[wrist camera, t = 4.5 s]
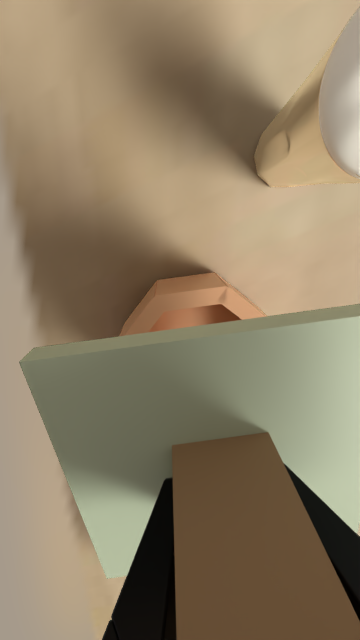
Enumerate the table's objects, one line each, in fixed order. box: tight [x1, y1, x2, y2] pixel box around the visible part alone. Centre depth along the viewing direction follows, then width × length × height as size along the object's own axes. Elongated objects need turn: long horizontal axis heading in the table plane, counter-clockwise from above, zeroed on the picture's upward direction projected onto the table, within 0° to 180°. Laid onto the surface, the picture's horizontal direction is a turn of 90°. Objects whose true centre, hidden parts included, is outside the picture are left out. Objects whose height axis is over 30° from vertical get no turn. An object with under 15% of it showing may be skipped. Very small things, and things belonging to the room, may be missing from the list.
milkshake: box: [254, 7, 360, 187], centre depth 10 cm, size 4×5×10 cm
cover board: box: [19, 304, 360, 640], centre depth 7 cm, size 10×10×5 cm
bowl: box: [120, 272, 267, 336], centre depth 16 cm, size 9×9×4 cm
